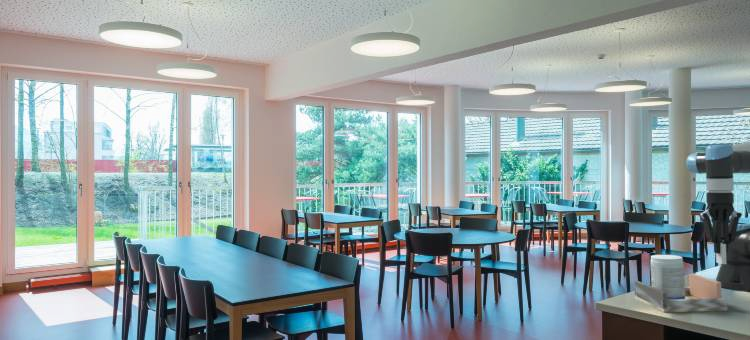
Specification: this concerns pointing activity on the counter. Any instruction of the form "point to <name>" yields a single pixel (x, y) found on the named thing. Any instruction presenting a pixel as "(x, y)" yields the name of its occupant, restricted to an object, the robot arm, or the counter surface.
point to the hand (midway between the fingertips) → (721, 263)
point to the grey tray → (683, 305)
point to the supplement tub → (668, 275)
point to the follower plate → (704, 287)
